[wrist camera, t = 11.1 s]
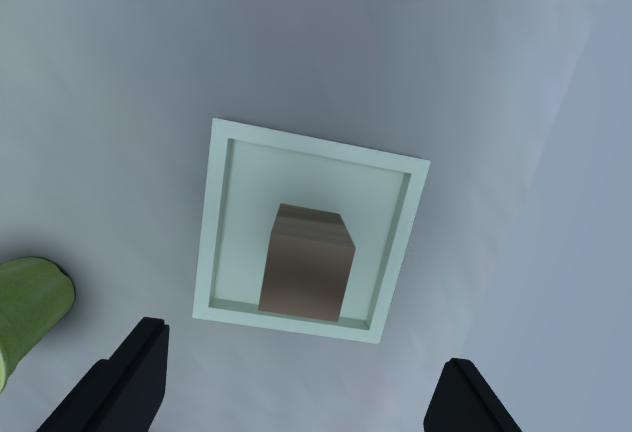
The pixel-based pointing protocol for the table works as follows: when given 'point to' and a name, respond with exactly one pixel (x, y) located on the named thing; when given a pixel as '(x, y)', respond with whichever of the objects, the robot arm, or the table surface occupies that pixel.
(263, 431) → the table surface
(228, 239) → the sage tray
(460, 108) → the table surface
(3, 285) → the plant pot
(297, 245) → the walnut block
